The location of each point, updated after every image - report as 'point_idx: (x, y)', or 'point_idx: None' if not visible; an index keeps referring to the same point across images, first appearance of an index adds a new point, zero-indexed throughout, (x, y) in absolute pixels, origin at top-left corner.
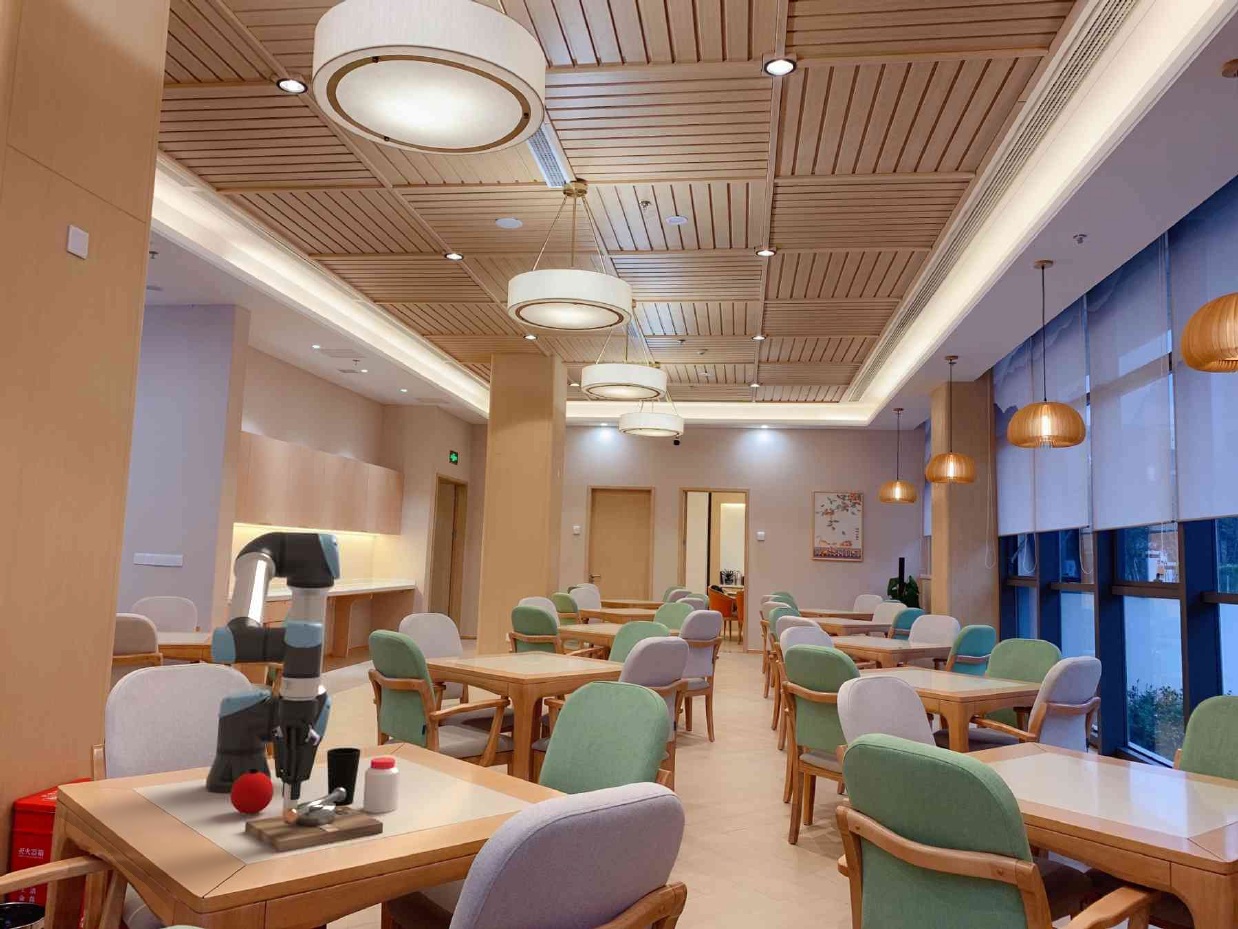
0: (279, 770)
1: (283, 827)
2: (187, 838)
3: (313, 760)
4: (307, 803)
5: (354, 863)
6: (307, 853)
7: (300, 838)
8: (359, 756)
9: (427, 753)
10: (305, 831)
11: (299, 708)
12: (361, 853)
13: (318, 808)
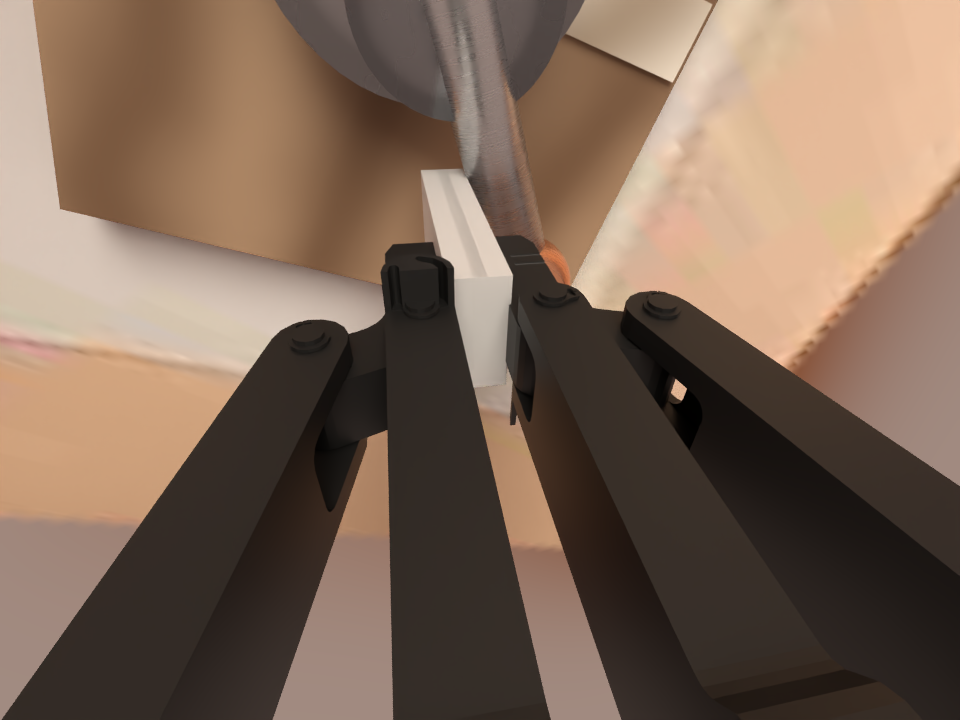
0: (352, 480)
1: (370, 166)
2: (58, 398)
3: (900, 468)
4: None
5: (884, 225)
6: (648, 246)
7: (593, 241)
8: None
9: None
10: (541, 149)
11: None
12: (880, 106)
13: (561, 20)
